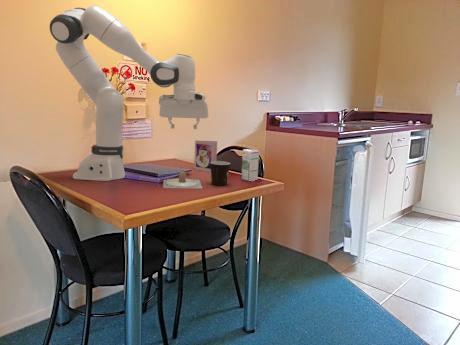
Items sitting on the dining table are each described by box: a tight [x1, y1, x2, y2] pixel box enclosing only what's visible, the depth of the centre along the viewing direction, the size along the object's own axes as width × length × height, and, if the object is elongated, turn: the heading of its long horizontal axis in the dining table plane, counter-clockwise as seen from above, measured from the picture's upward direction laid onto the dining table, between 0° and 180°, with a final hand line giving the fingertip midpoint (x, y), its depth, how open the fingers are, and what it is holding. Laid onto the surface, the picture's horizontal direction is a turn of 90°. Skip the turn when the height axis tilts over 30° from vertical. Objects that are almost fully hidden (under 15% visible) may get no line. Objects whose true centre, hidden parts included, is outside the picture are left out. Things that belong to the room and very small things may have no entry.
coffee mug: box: [210, 160, 231, 187], centre depth 171 cm, size 12×9×10 cm
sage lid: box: [166, 171, 199, 189], centre depth 170 cm, size 14×14×5 cm
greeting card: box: [193, 139, 218, 173], centre depth 205 cm, size 11×7×15 cm, turn 61°
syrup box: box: [240, 148, 260, 182], centre depth 186 cm, size 6×6×14 cm
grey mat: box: [162, 178, 203, 190], centre depth 171 cm, size 16×16×1 cm
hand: (183, 128), depth 167 cm, fingers open, 8 cm apart
